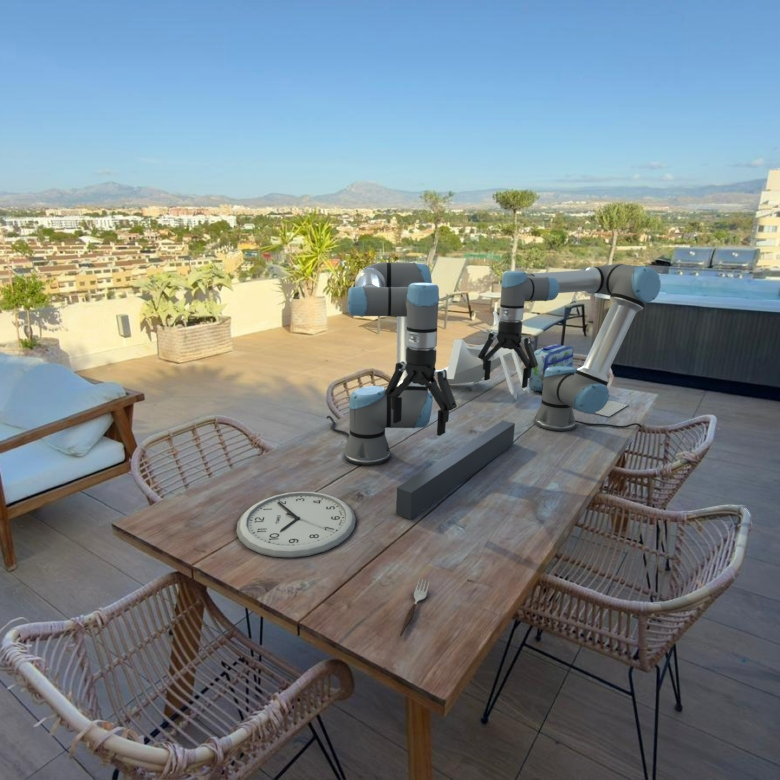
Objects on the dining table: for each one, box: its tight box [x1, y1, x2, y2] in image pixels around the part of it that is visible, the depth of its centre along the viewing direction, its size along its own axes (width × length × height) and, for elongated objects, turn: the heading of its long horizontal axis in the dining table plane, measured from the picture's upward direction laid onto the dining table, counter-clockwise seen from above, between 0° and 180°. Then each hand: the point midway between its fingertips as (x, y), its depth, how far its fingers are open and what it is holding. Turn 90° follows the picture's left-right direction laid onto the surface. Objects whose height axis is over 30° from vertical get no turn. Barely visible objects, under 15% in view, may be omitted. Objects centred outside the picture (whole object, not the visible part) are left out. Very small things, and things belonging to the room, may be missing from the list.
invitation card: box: [594, 399, 629, 418], centre depth 226 cm, size 21×1×15 cm
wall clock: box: [236, 491, 357, 558], centre depth 134 cm, size 30×2×30 cm
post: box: [395, 420, 516, 521], centre depth 161 cm, size 64×5×8 cm, turn 143°
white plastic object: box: [440, 310, 531, 400], centre depth 245 cm, size 37×45×31 cm
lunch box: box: [528, 344, 574, 393], centre depth 247 cm, size 26×11×21 cm, turn 134°
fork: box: [399, 577, 431, 637], centre depth 104 cm, size 3×16×2 cm, turn 160°
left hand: (418, 427), depth 135 cm, fingers open, 13 cm apart
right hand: (505, 383), depth 175 cm, fingers open, 13 cm apart
